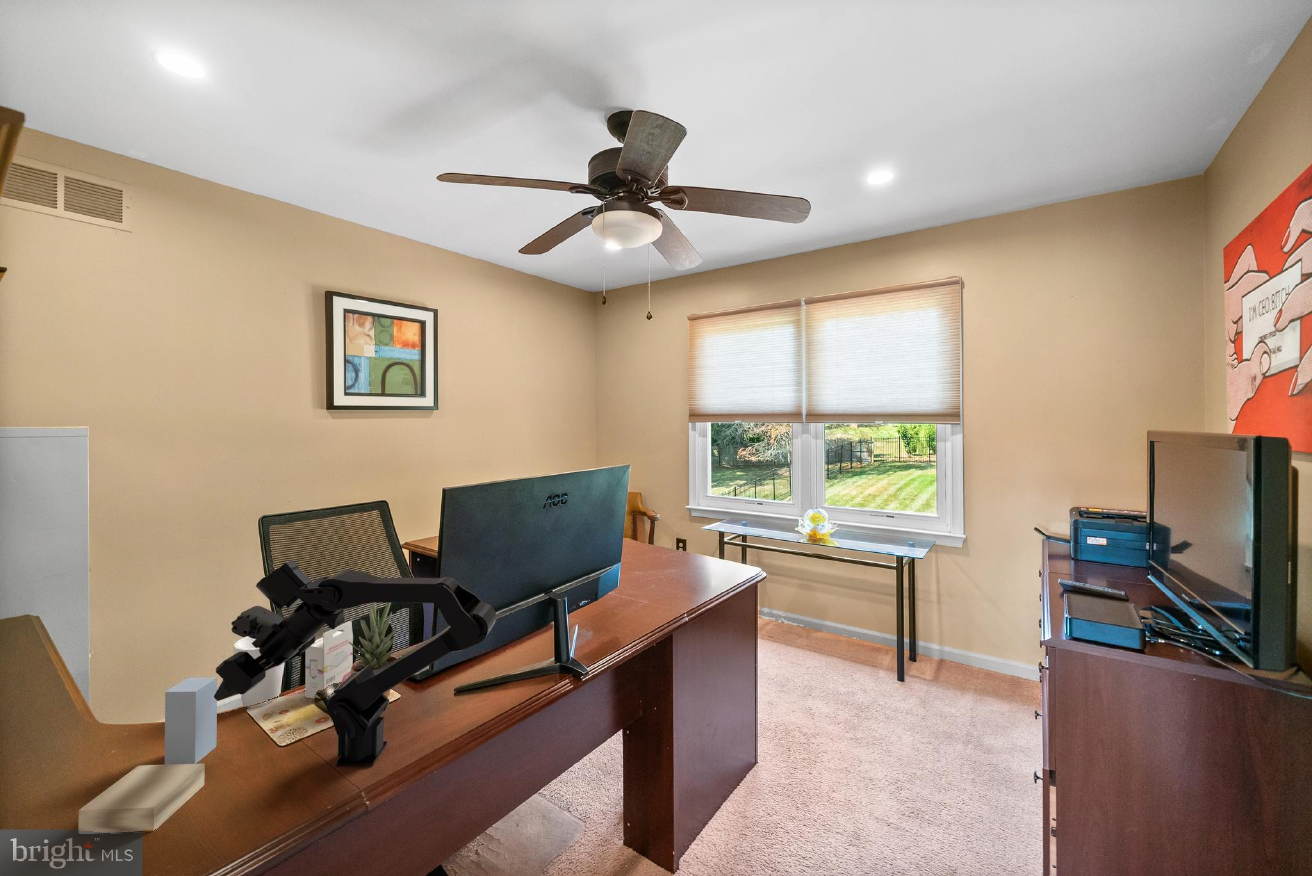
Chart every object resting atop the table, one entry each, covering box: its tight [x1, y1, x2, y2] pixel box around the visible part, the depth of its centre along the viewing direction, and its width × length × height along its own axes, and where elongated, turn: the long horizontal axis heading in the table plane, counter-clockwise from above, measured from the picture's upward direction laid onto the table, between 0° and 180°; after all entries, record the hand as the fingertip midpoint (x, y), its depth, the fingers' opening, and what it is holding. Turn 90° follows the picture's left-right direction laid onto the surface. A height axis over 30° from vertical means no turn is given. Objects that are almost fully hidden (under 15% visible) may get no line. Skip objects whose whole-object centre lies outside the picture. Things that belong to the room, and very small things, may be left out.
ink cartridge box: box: [304, 620, 354, 699], centre depth 118 cm, size 9×5×15 cm, turn 168°
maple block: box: [78, 763, 206, 833], centre depth 82 cm, size 10×10×4 cm
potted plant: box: [349, 603, 399, 698], centre depth 116 cm, size 10×10×25 cm
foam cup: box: [233, 636, 286, 708], centre depth 113 cm, size 10×9×13 cm
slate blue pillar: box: [164, 677, 218, 765], centre depth 94 cm, size 5×5×13 cm
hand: (236, 685), depth 95 cm, fingers open, 9 cm apart
